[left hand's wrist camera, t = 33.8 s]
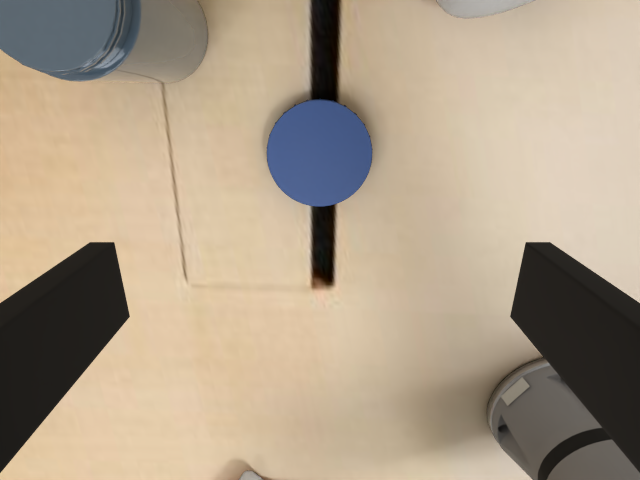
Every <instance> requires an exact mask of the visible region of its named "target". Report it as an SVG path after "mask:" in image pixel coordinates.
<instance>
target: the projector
mask: <svg viewBox="0 0 640 480" xmlns="http://www.w3.org/2000/svg"><path fill="white" fill-rule="evenodd" d="M436 1H437V3H438V4H439V6H440V7H441V8H442V9H443V10H444V11H445V12H447V13H448V14H450V15H452V16H455V17H458V18H479V17H485V16H490V15H495V14H498V13H502V12H505V11H508V10H511V9H514V8H516V7H519V6H522V5H524V4H527V3H529V2H532V1H534V0H436Z"/></svg>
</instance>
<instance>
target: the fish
mask: <svg viewBox="0 0 640 480" xmlns="http://www.w3.org/2000/svg"><path fill="white" fill-rule="evenodd" d="M239 480H264V479H262V478H261V477H260V476H259V475H257V474H256V473H254V472H253V471H245V472H244V473H243V474H242V476H241V477H240V478H239Z"/></svg>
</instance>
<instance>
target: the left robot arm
mask: <svg viewBox="0 0 640 480" xmlns="http://www.w3.org/2000/svg"><path fill="white" fill-rule="evenodd" d="M129 317H130V316H129V311H128V306H127V301H126V297H125V292H124V287H123V282H122V278H121V273H120V268H119V263H118V258H117V254H116V249H115V244H114V242H90V243H88V244H87V245H86V246H84V247H83V248H81V249H80V250H78V251H77V252H75V253H74V254H72V255H71V256H69V257H68V258H66V259H65V260H63V261H62V262H60V263H59V264H57V265H56V266H55V267H53V268H52V269H50V270H49V271H47V272H46V273H44V274H43V275H41V276H40V277H38V278H37V279H35V280H34V281H32V282H31V283H29V284H28V285H26V286H25V287H23V288H22V289H21V290H19V291H18V292H16V293H15V294H13V295H12V296H10V297H9V298H7V299H6V300H4V301H3V302H1V303H0V473H1V471H2V470H3V469H4V468H5V467H6V465H7V464H8V463H9V462H10V461H11V459H12V458H13V457H14V456H15V455H16V453H17V452H18V451H19V450H20V448H21V447H22V446H23V445H24V444H25V442H26V441H27V440H28V439H29V438H30V436H31V435H32V434H33V433H34V432H35V430H36V429H37V428H38V427H39V426H40V424H41V423H42V422H43V421H44V419H45V418H46V417H47V416H48V415H49V413H50V412H51V411H52V410H53V409H54V407H55V406H56V405H57V404H58V403H59V401H60V400H61V399H62V398H63V397H64V395H65V394H66V393H67V392H68V390H69V389H70V388H71V387H72V386H73V384H74V383H75V382H76V381H77V380H78V378H79V377H80V376H81V375H82V374H83V372H84V371H85V370H86V369H87V368H88V366H89V365H90V364H91V363H92V362H93V360H94V359H95V358H96V357H97V355H98V354H99V353H100V352H101V351H102V349H103V348H104V347H105V346H106V345H107V343H108V342H109V341H110V340H111V339H112V337H113V336H114V335H115V334H116V333H117V331H118V330H119V329H120V328H121V326H122V325H123V324H124V323H125V322H126V320H127V319H128V318H129ZM510 317H511V318H512V319H513V320H514V322H515V323H516V324H517V325H518V326H519V328H520V329H521V330H522V331H523V333H524V334H525V335H526V336H527V337H528V339H529V340H530V341H531V342H532V343H533V345H534V346H535V347H536V348H537V349H538V351H539V352H540V353H541V354H542V355H543V357H544V358H542V359H538V360H535V361H533V362H530V363H528V364H526V365H523V366H522V367H520V368H518V369H516V370H515V371H513V372H512V373H511V374H509V375H508V376H507V377H506V378H505V379H504V380H503V381H502V382H501V383H500V384H499V385H498V386H497V388H496V389H495V390H494V392H493V394H492V396H491V398H490V400H489V403H488V408H487V420H488V424H489V427H490V429H491V431H492V433H493V435H494V437H495V439H496V440H497V442H498V443H499V445H500V446H501V448H502V449H503V450H504V451H505V452H506V453H507V454H508V455H509V456H510V457H511V458H512V459H513V460H514V461H515V462H516V463H517V464H518V465H519V466H520V467H521V468H522V469H523V470H524V471H525V472H526V473H527V474H528V475H529V476H530V477H531V478H532V479H533V480H640V303H639V302H637V301H636V300H634V299H633V298H631V297H630V296H628V295H627V294H625V293H624V292H622V291H621V290H619V289H618V288H617V287H615V286H614V285H612V284H611V283H609V282H608V281H606V280H605V279H603V278H602V277H600V276H599V275H597V274H596V273H594V272H593V271H591V270H590V269H588V268H587V267H585V266H584V265H583V264H581V263H580V262H578V261H577V260H575V259H574V258H572V257H571V256H569V255H568V254H566V253H565V252H563V251H562V250H560V249H559V248H557V247H556V246H554V245H553V244H552V243H550V242H526V244H525V249H524V254H523V258H522V263H521V268H520V273H519V278H518V282H517V287H516V292H515V297H514V301H513V306H512V311H511V316H510Z"/></svg>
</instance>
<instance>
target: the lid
mask: <svg viewBox="0 0 640 480" xmlns="http://www.w3.org/2000/svg"><path fill="white" fill-rule="evenodd" d="M356 115H357V114H356V113H353V112H352V111H351V110H349V109H348V108H347V107H346V106H345V105H344V106H343V105H341V104H339V103H337V102H334V100H332V101H330V100H323V99H321V98H320V99H316V100H309V101H308V100H306V101H305V102H302V103H300V104H298V105H296V104H295V105H294V107H292V108H291V109H289V110H288V111H287V112H284V113H283V115H282V117H281V118H280V119H279V120H278V121H277V122H276V123H275V126H274V128H273V130H272V131H271V134H270V135H269V136H270V137H269V140H268V145H267V161H268V166H269V169H270V173H271V175H272V177H273V179H274V181H275V182H276V184H277V185H278V186H279V188H280V189H281V190H282V191H283V192H284V193H285V194H286V195H288V196H289V197H290V198H292V199H294V200H296V201H297V202H300V203H302V204H306V205H310V206H329V205H333V204H337V203H339V202H342V201H343V200H345V199H347V198H349V197H350V196H351V195H353V194H354V193H355V192H356V191H357V190H358V189H359V188H360V186H361V185H362V184H363V182H364V181H365V179H366V177H367V175H368V173H369V169H370V166H371V161H372V145H371V141H370V136H369V134H368V132H367V130H366V128H365V126H364V125H365V124H364V123H362V121H361V120H360V119H359V118H358V117H357V116H356Z"/></svg>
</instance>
